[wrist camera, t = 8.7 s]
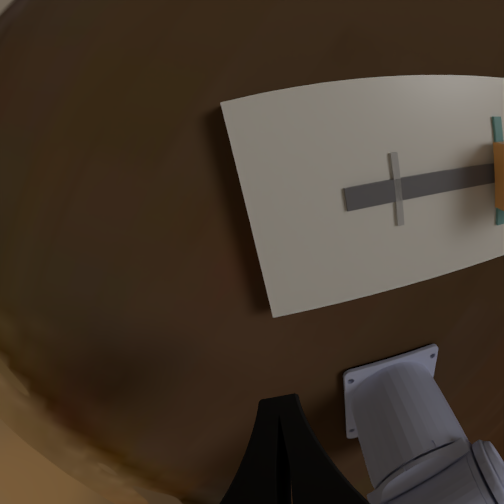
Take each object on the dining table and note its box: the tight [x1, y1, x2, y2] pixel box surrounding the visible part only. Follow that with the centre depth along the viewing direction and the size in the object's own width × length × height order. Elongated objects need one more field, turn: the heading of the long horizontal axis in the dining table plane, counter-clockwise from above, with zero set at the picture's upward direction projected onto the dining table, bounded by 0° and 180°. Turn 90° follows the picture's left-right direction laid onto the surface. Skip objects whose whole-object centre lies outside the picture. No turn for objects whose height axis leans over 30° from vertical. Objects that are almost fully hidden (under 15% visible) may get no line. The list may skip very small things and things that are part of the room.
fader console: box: [220, 75, 504, 318], centre depth 16 cm, size 12×28×2 cm, turn 103°
